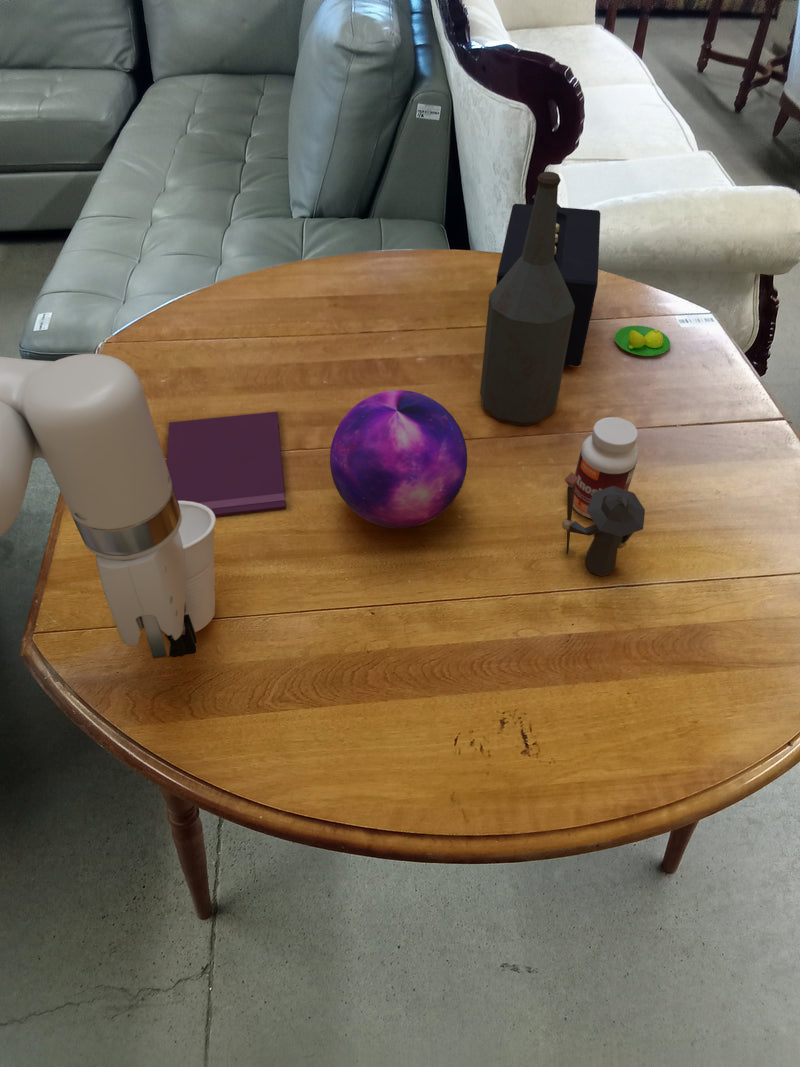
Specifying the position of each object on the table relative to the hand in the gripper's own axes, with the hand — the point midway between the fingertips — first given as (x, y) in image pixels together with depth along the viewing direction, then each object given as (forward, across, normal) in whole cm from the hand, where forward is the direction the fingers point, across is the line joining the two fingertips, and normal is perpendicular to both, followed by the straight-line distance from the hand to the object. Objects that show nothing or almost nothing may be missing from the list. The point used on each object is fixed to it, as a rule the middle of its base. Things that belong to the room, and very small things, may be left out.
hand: (180, 648), depth 71 cm
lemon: (+4, -47, +64) cm, 80 cm away
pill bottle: (+4, -16, +47) cm, 49 cm away
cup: (+3, -5, 0) cm, 6 cm away
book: (+3, -29, +4) cm, 30 cm away
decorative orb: (+4, -18, +24) cm, 30 cm away
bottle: (+4, -36, +42) cm, 56 cm away
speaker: (+4, -53, +50) cm, 73 cm away
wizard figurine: (+4, -7, +43) cm, 43 cm away
